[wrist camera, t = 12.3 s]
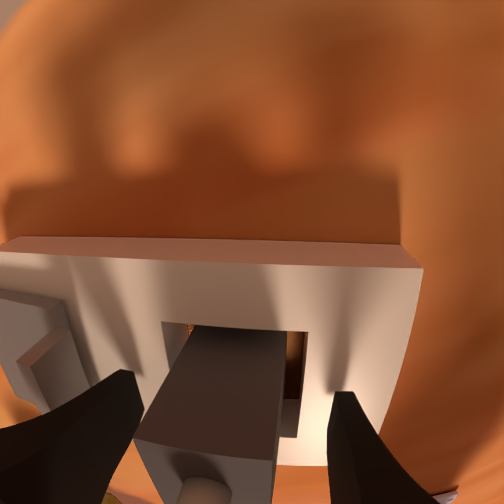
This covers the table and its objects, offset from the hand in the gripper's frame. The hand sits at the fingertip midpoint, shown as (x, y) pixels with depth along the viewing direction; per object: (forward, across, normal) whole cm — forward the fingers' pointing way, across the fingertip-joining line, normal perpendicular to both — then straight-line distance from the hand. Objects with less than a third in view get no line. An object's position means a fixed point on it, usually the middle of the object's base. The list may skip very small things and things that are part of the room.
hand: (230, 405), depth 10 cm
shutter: (+1, +9, 0) cm, 9 cm away
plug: (+3, 0, 0) cm, 4 cm away
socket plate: (+3, +3, 0) cm, 5 cm away
